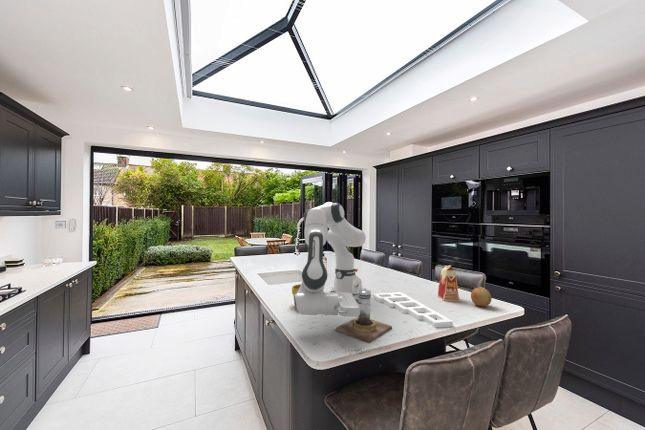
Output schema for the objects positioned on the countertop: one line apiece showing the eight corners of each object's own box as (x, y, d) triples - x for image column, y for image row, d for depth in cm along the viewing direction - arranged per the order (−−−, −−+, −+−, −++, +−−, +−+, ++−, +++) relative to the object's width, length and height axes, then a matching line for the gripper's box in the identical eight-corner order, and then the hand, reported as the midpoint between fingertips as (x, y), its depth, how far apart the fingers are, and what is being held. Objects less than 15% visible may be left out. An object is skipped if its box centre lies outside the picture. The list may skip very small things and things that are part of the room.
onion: (486, 310, 141) (487, 290, 141) (466, 305, 149) (467, 286, 149) (495, 307, 146) (495, 288, 146) (475, 302, 154) (475, 284, 154)
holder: (453, 327, 120) (453, 321, 120) (415, 330, 116) (415, 324, 116) (401, 296, 164) (401, 292, 164) (372, 298, 160) (372, 293, 160)
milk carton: (459, 301, 155) (460, 265, 155) (443, 301, 155) (443, 265, 155) (452, 296, 164) (453, 263, 164) (436, 296, 164) (437, 262, 164)
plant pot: (302, 310, 136) (302, 290, 136) (287, 305, 142) (287, 286, 142) (315, 305, 144) (316, 286, 144) (300, 301, 151) (301, 283, 151)
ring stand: (359, 318, 127) (360, 311, 127) (391, 328, 116) (392, 321, 116) (335, 330, 113) (335, 323, 113) (369, 342, 103) (369, 334, 103)
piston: (360, 321, 118) (360, 288, 118) (371, 324, 116) (372, 290, 116) (355, 325, 114) (356, 291, 114) (367, 328, 111) (368, 293, 111)
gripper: (336, 304, 104) (372, 304, 104) (331, 289, 124) (361, 289, 125) (336, 321, 104) (372, 321, 104) (330, 303, 124) (361, 303, 125)
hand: (366, 303), depth 115 cm, fingers closed on piston, 5 cm apart
